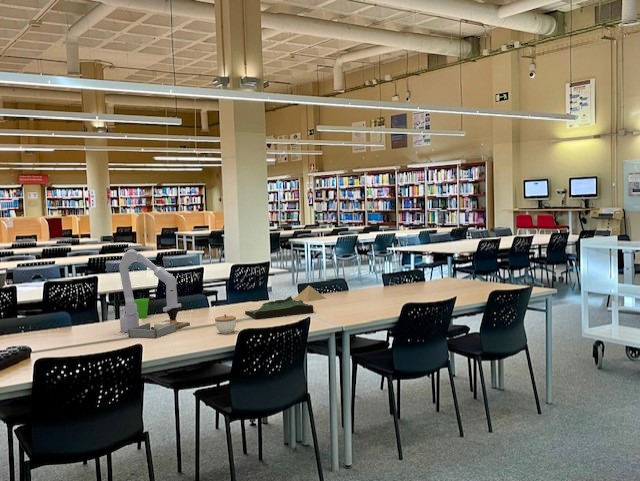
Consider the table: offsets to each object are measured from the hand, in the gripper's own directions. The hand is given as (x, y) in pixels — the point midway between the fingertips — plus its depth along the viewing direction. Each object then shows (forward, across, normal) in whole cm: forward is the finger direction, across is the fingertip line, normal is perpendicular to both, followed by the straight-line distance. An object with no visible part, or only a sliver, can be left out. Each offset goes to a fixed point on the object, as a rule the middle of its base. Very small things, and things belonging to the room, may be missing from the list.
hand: (173, 322), depth 332 cm
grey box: (+3, -18, 0) cm, 19 cm away
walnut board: (+3, -2, 0) cm, 4 cm away
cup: (+3, +22, +37) cm, 43 cm away
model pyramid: (+3, +100, -41) cm, 109 cm away
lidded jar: (+3, -9, -38) cm, 39 cm away
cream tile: (+1, -10, 0) cm, 10 cm away
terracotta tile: (+1, -4, 0) cm, 4 cm away
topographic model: (+3, +46, -44) cm, 63 cm away
